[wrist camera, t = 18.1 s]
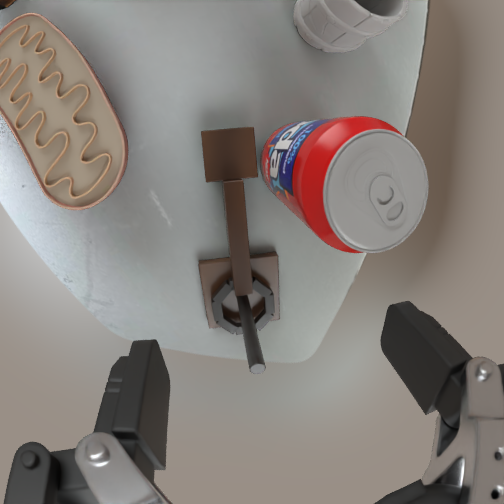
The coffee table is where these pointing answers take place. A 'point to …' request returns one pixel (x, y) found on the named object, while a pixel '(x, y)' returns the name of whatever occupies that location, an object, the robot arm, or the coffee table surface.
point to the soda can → (348, 180)
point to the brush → (235, 217)
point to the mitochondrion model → (59, 114)
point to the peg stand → (242, 299)
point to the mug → (345, 21)
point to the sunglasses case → (5, 3)
